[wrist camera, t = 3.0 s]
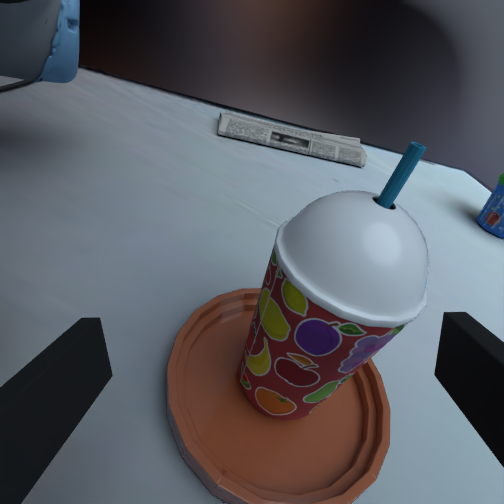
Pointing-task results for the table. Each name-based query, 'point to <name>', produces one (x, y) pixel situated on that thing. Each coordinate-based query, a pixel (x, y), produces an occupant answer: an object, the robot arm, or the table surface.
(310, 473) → the plate
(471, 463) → the table surface
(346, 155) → the newspaper
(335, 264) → the smoothie
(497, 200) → the snack cup
